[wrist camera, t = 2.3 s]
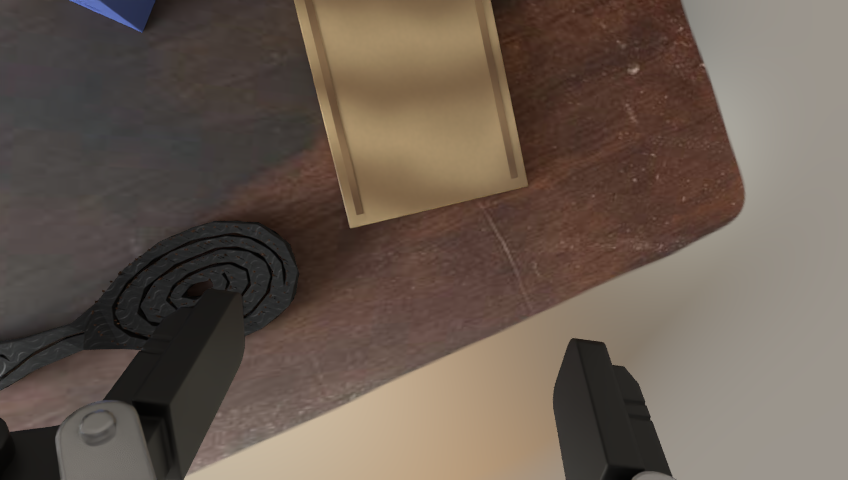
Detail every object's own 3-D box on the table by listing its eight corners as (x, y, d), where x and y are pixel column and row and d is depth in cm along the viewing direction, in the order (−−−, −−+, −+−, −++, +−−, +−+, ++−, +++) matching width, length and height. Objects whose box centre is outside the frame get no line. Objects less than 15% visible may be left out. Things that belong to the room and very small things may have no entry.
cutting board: (286, -32, 38) (284, -41, 36) (470, -66, 39) (475, -76, 37) (350, 227, 40) (350, 228, 38) (522, 186, 41) (529, 186, 40)
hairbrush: (-122, 339, 34) (267, 199, 35) (-73, 323, 38) (277, 196, 39) (-60, 458, 35) (315, 320, 36) (-18, 431, 39) (321, 306, 40)
